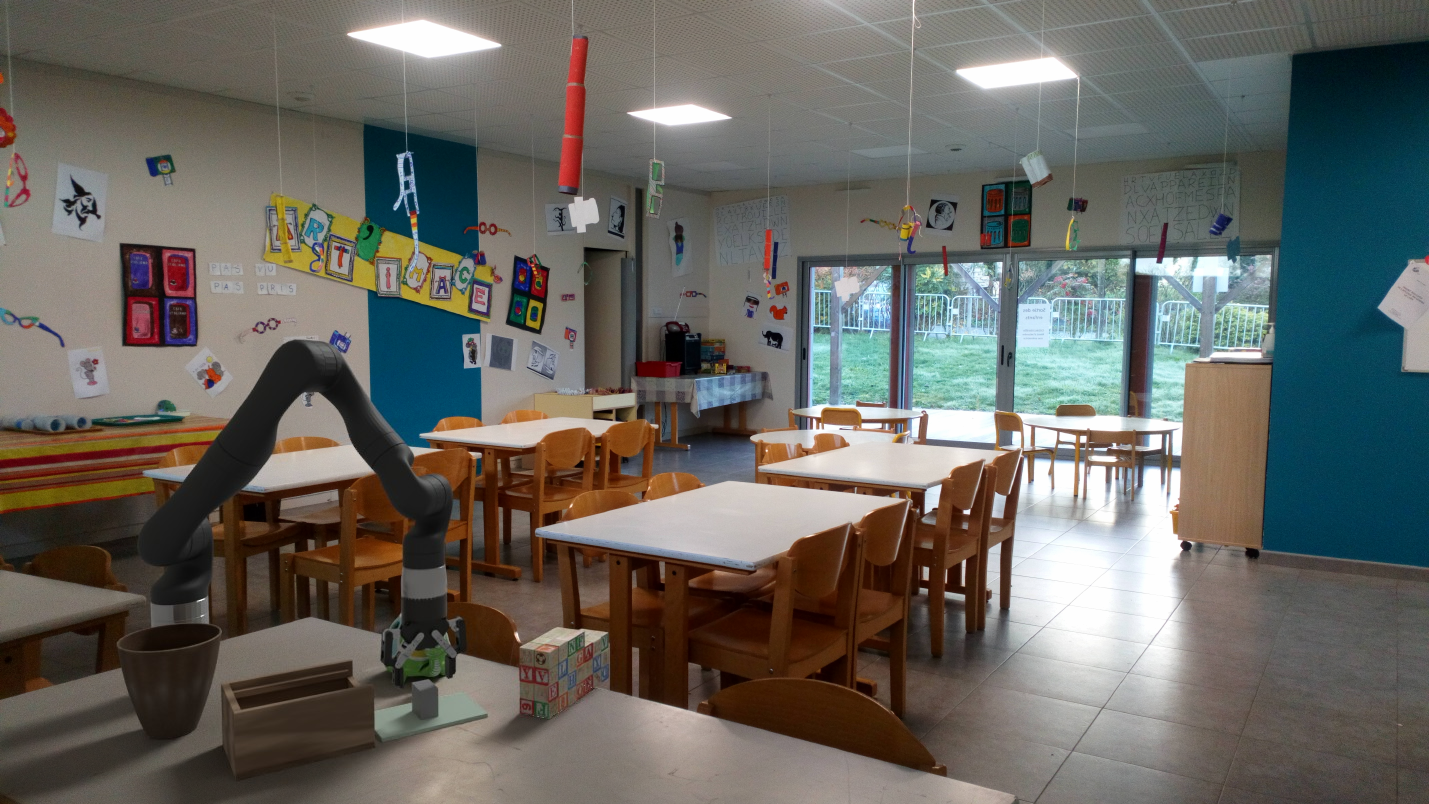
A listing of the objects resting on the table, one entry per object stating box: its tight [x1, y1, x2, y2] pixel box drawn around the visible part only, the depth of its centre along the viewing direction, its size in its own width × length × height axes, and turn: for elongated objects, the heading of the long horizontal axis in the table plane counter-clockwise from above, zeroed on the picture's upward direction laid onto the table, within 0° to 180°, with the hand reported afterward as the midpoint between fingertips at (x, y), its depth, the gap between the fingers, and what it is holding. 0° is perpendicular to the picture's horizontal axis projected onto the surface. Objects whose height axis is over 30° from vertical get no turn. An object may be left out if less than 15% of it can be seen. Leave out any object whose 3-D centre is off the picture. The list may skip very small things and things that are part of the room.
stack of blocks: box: [518, 626, 610, 719], centre depth 169 cm, size 21×6×12 cm, turn 157°
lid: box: [374, 678, 489, 743], centre depth 159 cm, size 12×18×6 cm, turn 125°
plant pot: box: [116, 623, 222, 740], centre depth 152 cm, size 15×15×16 cm
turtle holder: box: [383, 613, 452, 684], centre depth 177 cm, size 12×18×12 cm
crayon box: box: [220, 658, 376, 781], centre depth 147 cm, size 15×20×10 cm
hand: (424, 682), depth 159 cm, fingers open, 8 cm apart
